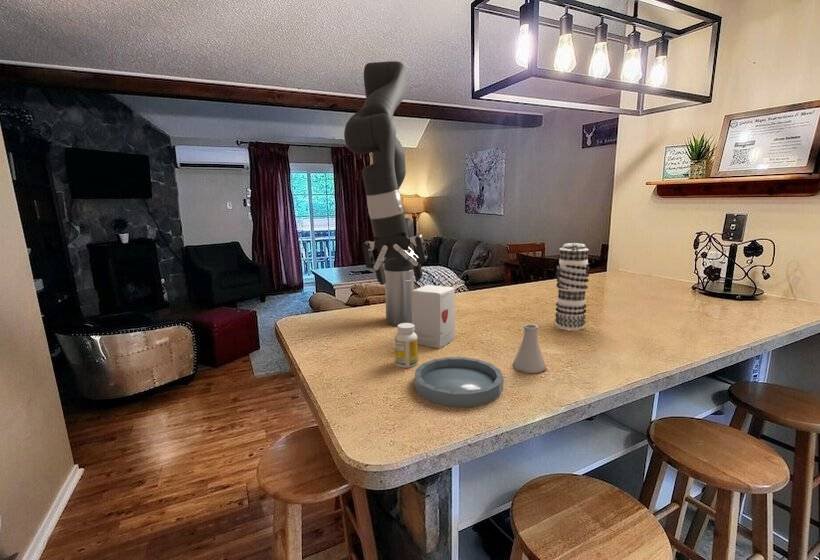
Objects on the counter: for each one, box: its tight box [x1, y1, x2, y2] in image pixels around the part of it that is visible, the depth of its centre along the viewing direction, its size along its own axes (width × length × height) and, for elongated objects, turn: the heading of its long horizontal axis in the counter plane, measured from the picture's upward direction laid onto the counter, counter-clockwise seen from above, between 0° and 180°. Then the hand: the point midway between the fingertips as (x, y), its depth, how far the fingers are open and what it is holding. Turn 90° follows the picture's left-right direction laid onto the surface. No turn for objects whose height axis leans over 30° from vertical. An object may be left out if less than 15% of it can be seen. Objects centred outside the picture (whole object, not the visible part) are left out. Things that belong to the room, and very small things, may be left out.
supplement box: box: [412, 284, 456, 349], centre depth 109 cm, size 9×9×15 cm
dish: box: [414, 356, 504, 408], centre depth 83 cm, size 18×18×3 cm
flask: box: [512, 323, 547, 374], centre depth 91 cm, size 7×7×10 cm
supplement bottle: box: [394, 323, 419, 369], centre depth 94 cm, size 5×5×10 cm
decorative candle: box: [554, 242, 591, 331], centre depth 118 cm, size 9×9×25 cm
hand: (400, 282), depth 92 cm, fingers open, 8 cm apart
